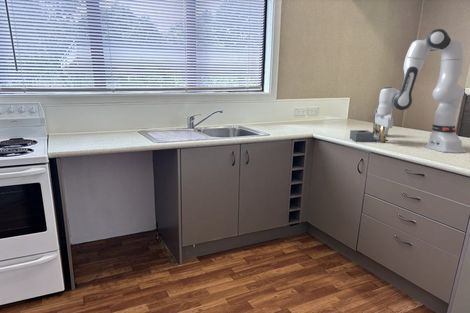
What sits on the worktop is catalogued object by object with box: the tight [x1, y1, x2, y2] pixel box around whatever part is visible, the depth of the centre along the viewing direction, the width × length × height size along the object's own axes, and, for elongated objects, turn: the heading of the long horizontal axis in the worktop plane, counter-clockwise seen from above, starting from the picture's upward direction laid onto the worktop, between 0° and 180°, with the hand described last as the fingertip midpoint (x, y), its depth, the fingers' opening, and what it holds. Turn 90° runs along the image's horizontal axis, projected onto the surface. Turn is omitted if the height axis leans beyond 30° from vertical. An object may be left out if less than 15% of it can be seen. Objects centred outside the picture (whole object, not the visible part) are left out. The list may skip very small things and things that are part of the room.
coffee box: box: [372, 115, 389, 138], centre depth 249 cm, size 9×6×16 cm
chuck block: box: [349, 129, 375, 143], centre depth 234 cm, size 12×12×6 cm
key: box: [378, 126, 387, 144], centre depth 226 cm, size 4×4×12 cm
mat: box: [373, 136, 388, 142], centre depth 238 cm, size 12×10×1 cm
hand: (382, 132), depth 226 cm, fingers open, 8 cm apart
